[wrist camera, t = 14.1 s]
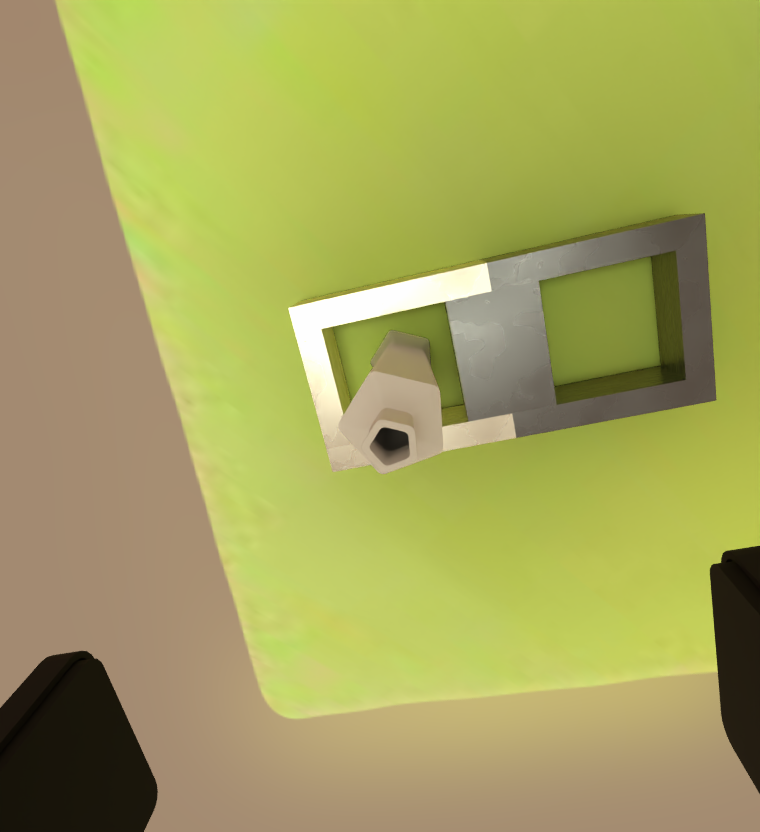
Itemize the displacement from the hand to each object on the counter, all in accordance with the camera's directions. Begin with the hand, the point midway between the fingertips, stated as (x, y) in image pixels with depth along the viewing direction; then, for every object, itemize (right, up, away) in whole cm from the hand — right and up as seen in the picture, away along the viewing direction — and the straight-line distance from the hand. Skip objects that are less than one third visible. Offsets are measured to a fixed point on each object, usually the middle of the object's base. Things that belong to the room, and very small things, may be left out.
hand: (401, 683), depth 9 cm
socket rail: (+7, +8, +27) cm, 29 cm away
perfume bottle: (+1, +8, +28) cm, 29 cm away
